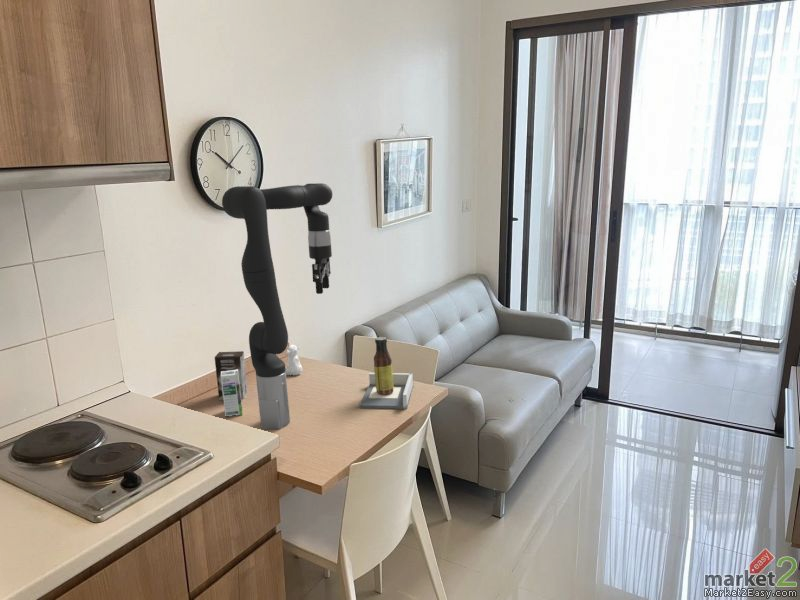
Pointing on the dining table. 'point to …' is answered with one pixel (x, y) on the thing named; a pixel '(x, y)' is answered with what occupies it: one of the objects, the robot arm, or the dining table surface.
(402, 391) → the grey tray
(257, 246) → the robot arm
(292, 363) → the sitting furry creature
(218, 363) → the coffee box
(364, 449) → the dining table surface
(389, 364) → the sauce bottle
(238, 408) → the syrup box
